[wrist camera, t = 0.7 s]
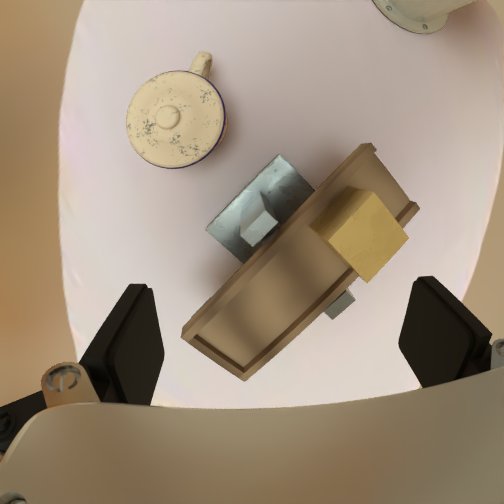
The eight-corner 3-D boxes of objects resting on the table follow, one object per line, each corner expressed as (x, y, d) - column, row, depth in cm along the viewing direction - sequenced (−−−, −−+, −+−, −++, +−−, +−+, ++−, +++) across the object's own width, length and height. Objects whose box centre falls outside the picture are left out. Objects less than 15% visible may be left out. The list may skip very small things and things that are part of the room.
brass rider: (347, 186, 26) (374, 192, 21) (380, 224, 27) (408, 237, 23) (308, 226, 27) (327, 240, 22) (344, 263, 28) (367, 283, 23)
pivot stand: (278, 154, 35) (293, 161, 24) (359, 240, 39) (395, 276, 28) (207, 226, 38) (194, 261, 27) (292, 301, 42) (306, 353, 31)
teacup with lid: (213, 171, 35) (200, 187, 24) (141, 148, 34) (100, 156, 23) (250, 76, 31) (253, 49, 21) (175, 55, 30) (148, 23, 19)
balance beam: (351, 143, 28) (369, 141, 24) (399, 203, 30) (421, 210, 26) (183, 316, 31) (179, 336, 27) (242, 360, 33) (245, 382, 30)
